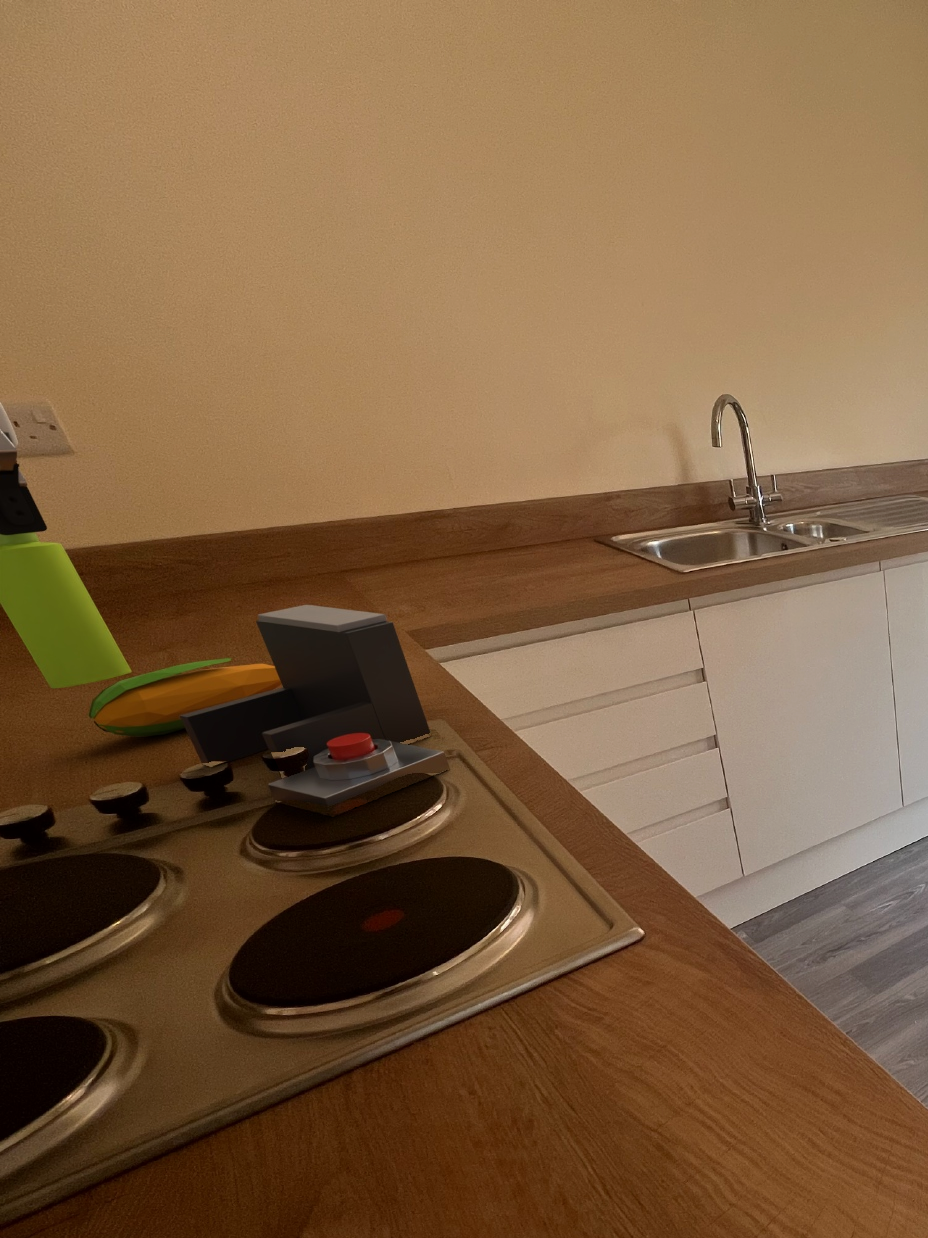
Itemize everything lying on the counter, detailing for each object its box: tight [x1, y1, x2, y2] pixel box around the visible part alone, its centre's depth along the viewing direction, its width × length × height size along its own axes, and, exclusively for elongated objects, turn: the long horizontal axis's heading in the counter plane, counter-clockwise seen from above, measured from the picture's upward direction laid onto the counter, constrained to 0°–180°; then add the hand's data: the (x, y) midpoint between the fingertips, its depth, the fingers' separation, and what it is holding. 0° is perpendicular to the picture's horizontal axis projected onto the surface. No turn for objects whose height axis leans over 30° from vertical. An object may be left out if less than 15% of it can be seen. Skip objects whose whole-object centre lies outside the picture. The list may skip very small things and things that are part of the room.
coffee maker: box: [180, 604, 431, 770], centre depth 94 cm, size 15×16×15 cm
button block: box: [267, 739, 451, 806], centre depth 87 cm, size 12×9×4 cm
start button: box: [327, 733, 376, 760], centre depth 86 cm, size 4×4×2 cm
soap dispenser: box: [0, 532, 133, 689], centre depth 81 cm, size 6×7×20 cm
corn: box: [88, 657, 282, 738], centre depth 105 cm, size 7×8×20 cm
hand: (7, 529), depth 79 cm, fingers closed on soap dispenser, 5 cm apart
